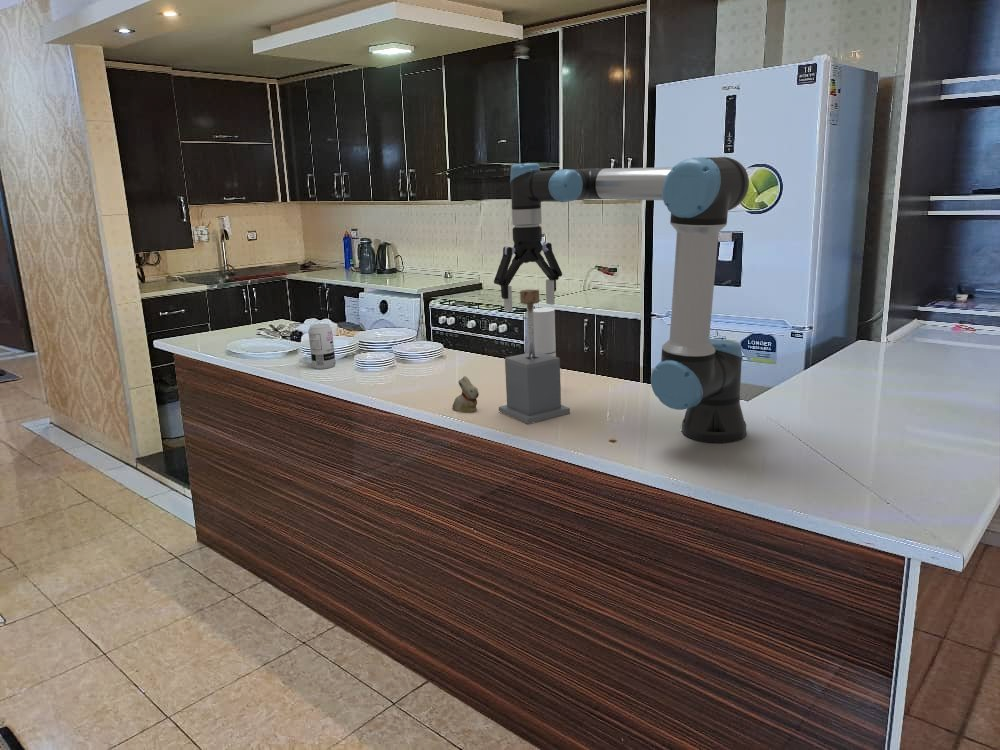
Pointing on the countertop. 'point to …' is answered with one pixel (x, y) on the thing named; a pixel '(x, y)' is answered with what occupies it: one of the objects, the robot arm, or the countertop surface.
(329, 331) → the supplement can
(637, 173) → the robot arm
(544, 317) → the cylindrical container
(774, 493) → the countertop surface
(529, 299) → the plunger
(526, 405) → the block
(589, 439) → the countertop surface
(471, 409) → the chocolate bunny
